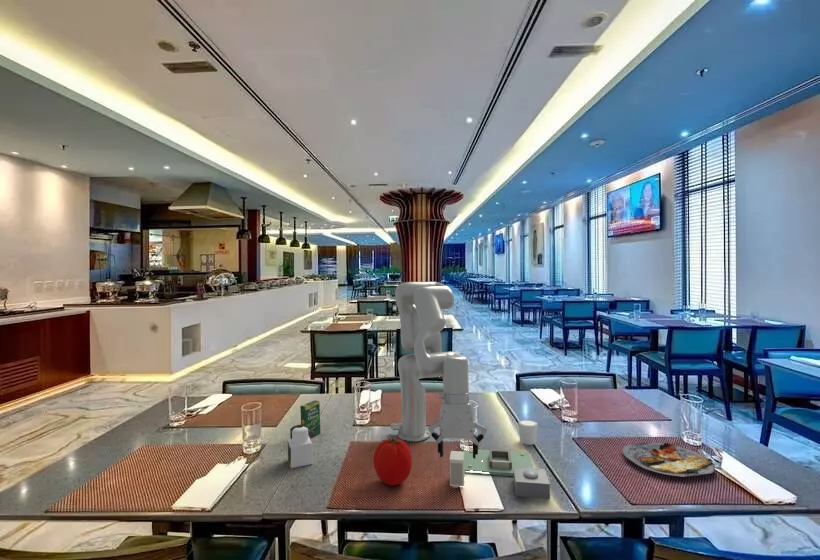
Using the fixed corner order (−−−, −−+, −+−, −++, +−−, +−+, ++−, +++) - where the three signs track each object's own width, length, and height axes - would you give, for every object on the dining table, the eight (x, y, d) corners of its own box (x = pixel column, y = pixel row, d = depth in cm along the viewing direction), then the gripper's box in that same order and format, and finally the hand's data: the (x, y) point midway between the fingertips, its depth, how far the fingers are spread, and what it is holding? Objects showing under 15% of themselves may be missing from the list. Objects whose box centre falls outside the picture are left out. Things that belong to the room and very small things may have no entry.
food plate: (671, 445, 143) (671, 435, 143) (735, 476, 121) (734, 465, 120) (608, 453, 139) (608, 443, 139) (661, 487, 116) (661, 475, 116)
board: (461, 472, 126) (461, 468, 126) (464, 451, 141) (464, 447, 141) (535, 477, 122) (535, 473, 122) (529, 455, 137) (529, 451, 137)
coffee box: (305, 440, 154) (304, 406, 154) (300, 439, 155) (299, 405, 155) (321, 433, 161) (320, 400, 161) (315, 432, 162) (315, 399, 162)
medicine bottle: (287, 460, 137) (287, 424, 137) (309, 456, 140) (308, 421, 140) (290, 468, 131) (289, 431, 131) (312, 464, 133) (312, 428, 133)
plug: (449, 487, 117) (449, 459, 117) (451, 477, 123) (451, 450, 123) (463, 488, 116) (463, 460, 116) (464, 477, 123) (464, 451, 123)
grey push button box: (516, 496, 112) (515, 479, 112) (513, 480, 120) (513, 464, 120) (550, 498, 110) (549, 481, 110) (545, 482, 119) (544, 466, 119)
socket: (489, 467, 127) (489, 461, 127) (489, 455, 135) (489, 449, 135) (511, 469, 125) (511, 462, 125) (510, 456, 134) (509, 450, 134)
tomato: (416, 474, 125) (415, 432, 125) (407, 495, 113) (406, 448, 113) (380, 471, 128) (379, 429, 128) (367, 491, 116) (367, 445, 116)
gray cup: (538, 445, 145) (538, 426, 145) (519, 444, 146) (518, 425, 146) (536, 438, 152) (536, 420, 152) (518, 437, 153) (517, 419, 153)
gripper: (425, 400, 118) (427, 459, 117) (485, 401, 115) (487, 462, 114) (429, 394, 125) (430, 449, 125) (485, 395, 122) (487, 452, 121)
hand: (458, 455), depth 119 cm, fingers open, 9 cm apart
